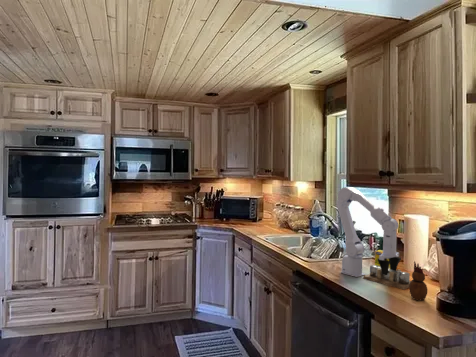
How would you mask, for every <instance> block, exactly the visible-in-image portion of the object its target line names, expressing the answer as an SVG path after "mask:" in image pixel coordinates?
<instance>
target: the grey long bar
mask: <svg viewBox="0 0 476 357" xmlns="http://www.w3.org/2000/svg"><path fill="white" fill-rule="evenodd" d="M377 269H381V267H380V266H377V265H375V264H370V265H369V274H370V276H374V277H377ZM389 272H394V275H393V281H394V282H398V283H400V284H406V285H407V284H409V281H410V280H411V279H410V275H411V274H410V273H409V272H406V271H402V270H401V271H397V269H396V270H393V269H389V268H388V274H387V275H383V274H382V271H381V278H382V279H386V280H389Z"/></svg>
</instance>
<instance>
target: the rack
mask: <svg viewBox="0 0 476 357" xmlns="http://www.w3.org/2000/svg"><path fill="white" fill-rule="evenodd" d="M396 270H397V271H401V272H402V270H401V269H398V268H397V269H396ZM393 275H394V272H389V280H386V279H382V278H381V269H377V277H374V276H370V273H369V274H366V275H363V276H362V277H363V278H362V279H364V280H369V281H371V282H374V283H375V282H376V283H378V284H383V285H387V286H390V287H394V288H397V289H401V290H406V289H409V284H410V282H411V281H412V280H409V284H407V285H406V284H400V283H398V282H394V281H393Z"/></svg>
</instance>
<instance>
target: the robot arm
mask: <svg viewBox="0 0 476 357" xmlns="http://www.w3.org/2000/svg"><path fill="white" fill-rule="evenodd" d="M337 197H338V198H337V200H336V201H337V203H336V207H337V211H338V214H339V218H340V221H341V226H342V228H343V232H344V234H345V239H346V240H345V243H344V244H345V253H346V254H345V255H343V256H342V259H341V271H340V273H341V274H343V275H348V276H352V277H355V278H358V277H363V276H365V275H367V274H366V273H364V272H363V254H365V253H364V252H365V248H366V247H365V245H364V244H363V243H362V241H361V238H359V237H358V235H357V231H356V228H355V224H354V220H353V217H352V215H351V211H350V208H349V207H350V205H351V204H352V202H353V201H354V202H357V203H359V204H360V205H361V206H363V208H365V209H366V210H367V211H369V212H370V213H369V214H370V216H371V217H372V218H373V220H375V222H377V223H378V224H379V225H380V226H381V228H382V230H383V239H382V241H383V242H382V250H383V253H382V254H381V255H379V258H378V262H379V264H380V267H381V271H382V274H383V275H387V274H388V268H389V264H390V269H393V270H397V269H398V266H399V263H400V262H401V260H402V259H401V258H402V257H400V252H398V251H397V235H398V234H397V230H398V228H399V222H398V221H397V220H396V219H395V218H392V216H391V215H389V214H387V213H386V211H385V209H384V208H383V207H382V208H381V207H376V206H375V205H374V204H373V203H372V202H370V200H369V199H367V197H366V196H365V195H364V194H363V193H362V192H361V191H360V190H358V189H357V188H356V187H352V186H351V187H345V186H344V187H342V188H340V190H339V191H338V193H337ZM387 259H389V261H387Z"/></svg>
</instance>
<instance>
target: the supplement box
mask: <svg viewBox="0 0 476 357" xmlns="http://www.w3.org/2000/svg"><path fill="white" fill-rule="evenodd" d="M382 253H383V249H378V250H376V251H375V253H374V265H377V266H380V264H379V262H378V258H379V255H381V254H382ZM387 261H389V259H387ZM389 269H390V264H389Z"/></svg>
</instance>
